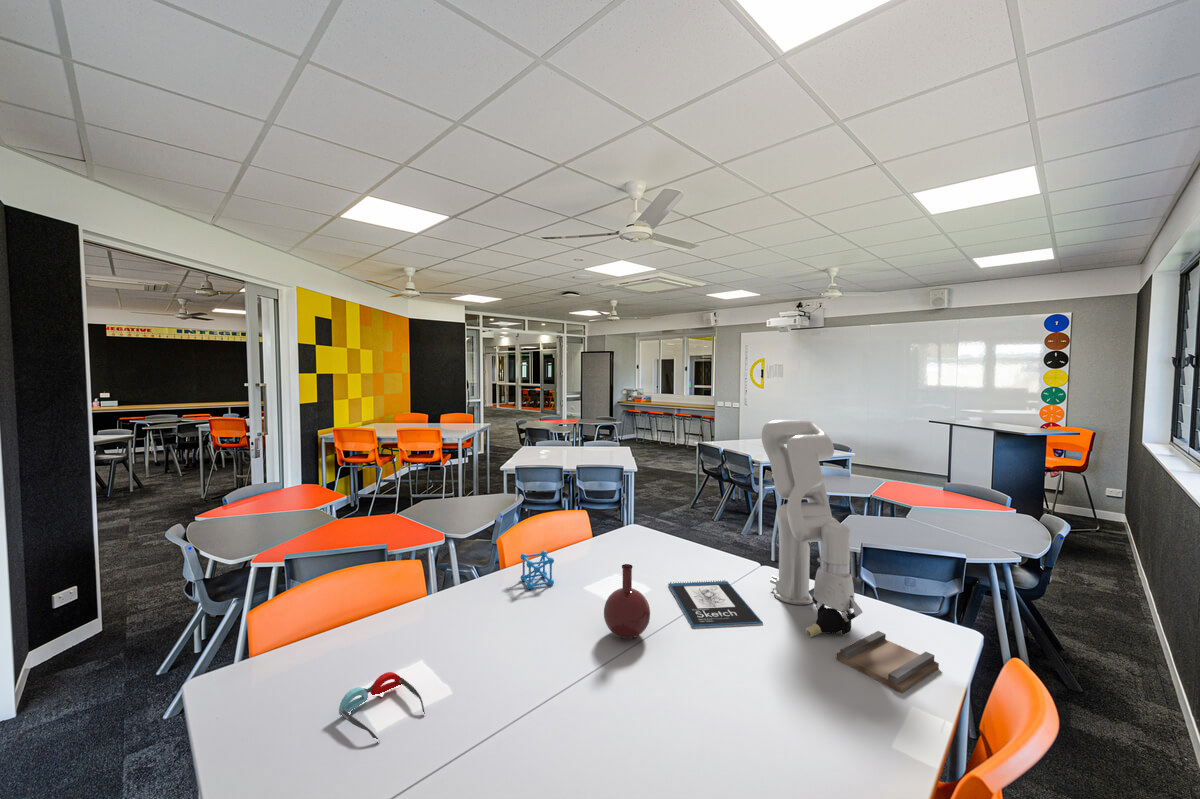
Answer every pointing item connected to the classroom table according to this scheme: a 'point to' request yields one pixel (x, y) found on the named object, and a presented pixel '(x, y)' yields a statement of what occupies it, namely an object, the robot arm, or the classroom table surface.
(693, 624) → the sketchbook
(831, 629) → the light bulb
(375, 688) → the novelty glasses
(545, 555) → the molecular structure
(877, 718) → the classroom table surface
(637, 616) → the round-bottom flask
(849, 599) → the robot arm
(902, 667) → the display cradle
